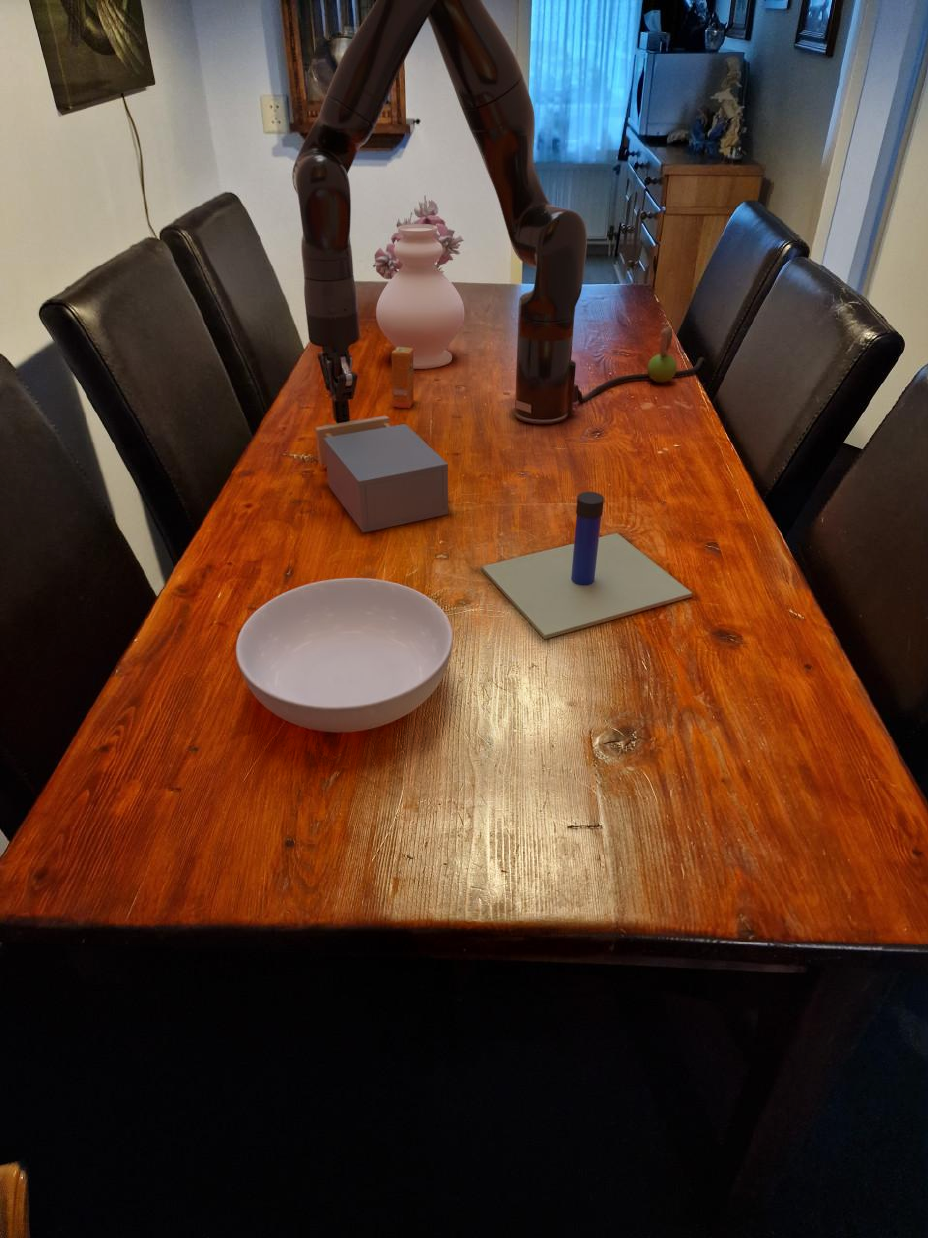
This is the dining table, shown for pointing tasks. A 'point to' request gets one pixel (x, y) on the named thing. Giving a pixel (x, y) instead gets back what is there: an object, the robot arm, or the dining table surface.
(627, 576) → the mat
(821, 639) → the dining table surface
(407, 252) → the decorative vase
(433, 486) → the cabinet
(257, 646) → the serving bowl
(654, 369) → the green ball with stem
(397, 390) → the supplement box
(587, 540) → the flashlight
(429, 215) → the flower
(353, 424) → the drawer
